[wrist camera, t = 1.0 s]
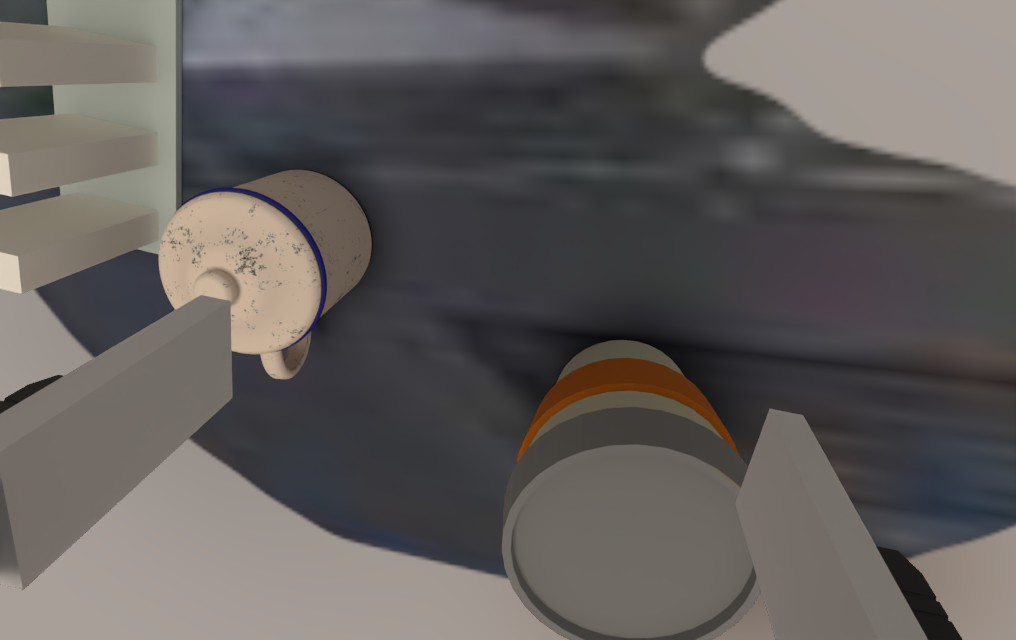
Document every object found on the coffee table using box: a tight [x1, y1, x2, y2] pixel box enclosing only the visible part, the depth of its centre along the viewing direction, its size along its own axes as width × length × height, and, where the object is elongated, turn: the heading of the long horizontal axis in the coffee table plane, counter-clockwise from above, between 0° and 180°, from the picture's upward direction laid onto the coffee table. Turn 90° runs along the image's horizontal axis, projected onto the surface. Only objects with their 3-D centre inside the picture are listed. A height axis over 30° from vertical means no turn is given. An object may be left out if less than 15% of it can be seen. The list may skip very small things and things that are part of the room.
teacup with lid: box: [159, 170, 372, 379], centre depth 37 cm, size 12×9×12 cm
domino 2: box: [0, 113, 158, 197], centre depth 35 cm, size 2×6×11 cm, turn 79°
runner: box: [47, 0, 182, 254], centre depth 38 cm, size 30×8×1 cm, turn 169°
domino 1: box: [0, 22, 157, 87], centre depth 34 cm, size 2×6×11 cm, turn 79°
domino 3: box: [0, 192, 159, 294], centre depth 37 cm, size 2×6×11 cm, turn 78°
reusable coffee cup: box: [502, 340, 761, 640], centre depth 36 cm, size 13×12×15 cm
